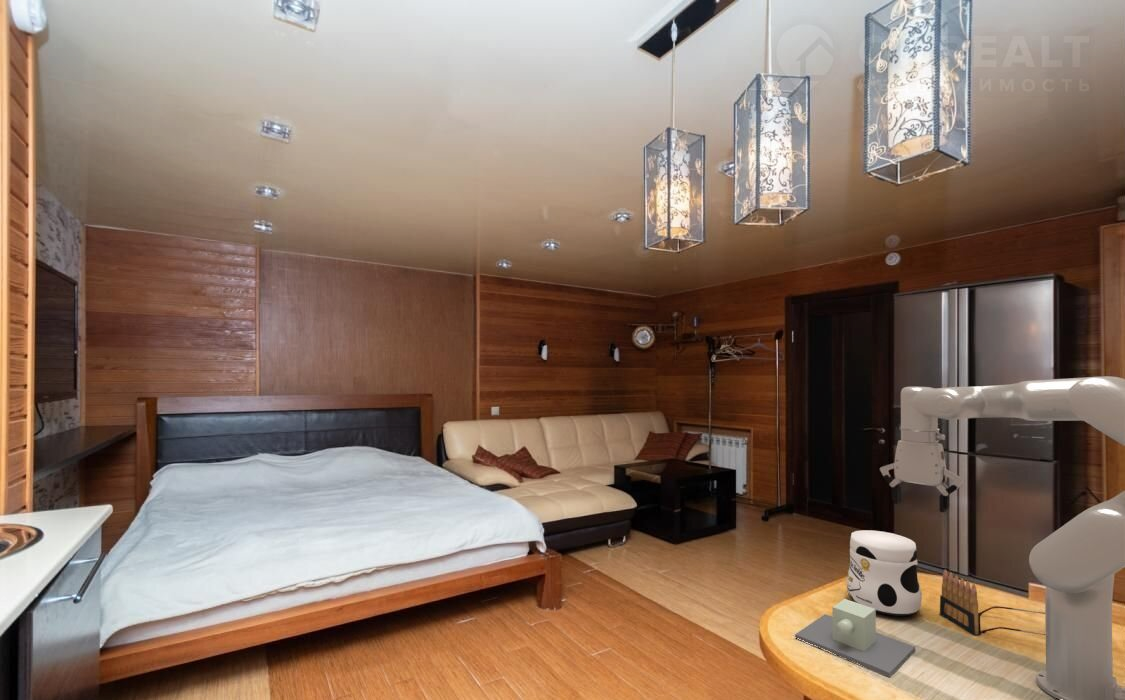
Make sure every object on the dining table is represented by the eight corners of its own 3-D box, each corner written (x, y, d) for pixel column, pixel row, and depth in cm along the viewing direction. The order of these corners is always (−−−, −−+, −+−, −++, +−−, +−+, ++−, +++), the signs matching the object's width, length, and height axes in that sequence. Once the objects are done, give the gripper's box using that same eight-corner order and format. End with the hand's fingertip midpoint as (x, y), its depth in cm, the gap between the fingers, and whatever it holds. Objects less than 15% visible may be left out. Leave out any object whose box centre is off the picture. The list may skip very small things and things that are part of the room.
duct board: (915, 651, 120) (915, 624, 120) (889, 677, 109) (889, 648, 110) (825, 617, 135) (825, 594, 135) (795, 638, 125) (795, 612, 125)
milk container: (832, 597, 147) (831, 532, 147) (876, 588, 153) (876, 526, 153) (890, 627, 131) (889, 553, 131) (937, 615, 137) (937, 545, 137)
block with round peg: (844, 629, 127) (844, 598, 127) (875, 641, 122) (875, 609, 122) (826, 643, 121) (826, 611, 121) (858, 656, 115) (858, 622, 116)
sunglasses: (1071, 658, 118) (1069, 635, 118) (980, 640, 127) (978, 619, 127) (1058, 632, 129) (1056, 611, 130) (975, 618, 139) (974, 598, 139)
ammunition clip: (981, 635, 127) (980, 585, 127) (973, 635, 127) (973, 585, 127) (946, 614, 138) (945, 568, 138) (939, 614, 138) (939, 568, 138)
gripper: (966, 439, 125) (967, 512, 125) (885, 432, 138) (886, 497, 138) (957, 442, 120) (958, 517, 120) (874, 434, 134) (875, 502, 133)
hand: (919, 506), depth 129 cm, fingers open, 9 cm apart
